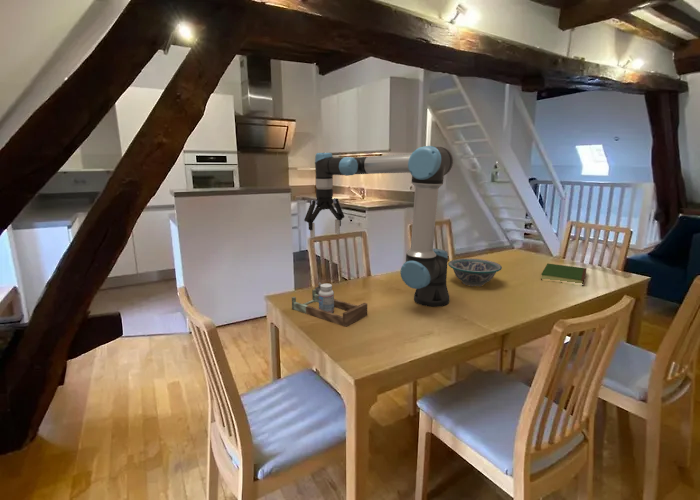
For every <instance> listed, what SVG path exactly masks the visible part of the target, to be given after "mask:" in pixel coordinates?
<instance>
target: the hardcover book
mask: <svg viewBox="0 0 700 500" xmlns="http://www.w3.org/2000/svg"><path fill="white" fill-rule="evenodd" d="M540 276H541V277H540V279H541V278H542V279H550V280H560V281H567V282H575V283H582V284H585V280H586V276H587V267H586V268H585V267H578V266H569V265H562V264H556V263H547V264H546V265H545V267H544V269H543V270H542V272H541V274H540ZM584 279H585V280H584Z"/></svg>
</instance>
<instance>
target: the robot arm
mask: <svg viewBox="0 0 700 500" xmlns="http://www.w3.org/2000/svg"><path fill="white" fill-rule="evenodd" d="M314 155H315V158H314V167H315V187H316V189H315V197H316V199H315V200H314V199H310V200H309V207H308V209H307V212H306V214H305V218H304V222H307V223H308V224H307V225H308V230H309V232H310V233H309V236H310V238H312V239H314V238H316V227H315V222H314V221H315V220H316V219H317V217H318V215H319V213H320V212H322V211H325V210H329V211H330V212H331V213H332V215H333V216H334V217H335V219H334V233H335V234H336V235H340V233H341V232H340V231H341V228H340V227H341V226H342V220H343V219H344V218H345V215H344V211H343V210H342V207H341V205H340V200H339V198H336V197H335V198H333V197H334V189H333V187H334V185H333V184H334V181H333V180H334V179H333V176H346V177H347V176H349V177H350V176H354V175H369V174H372V175H373V174H405V173H407V174H411V184H412V185H413V186H414V197H413V198H414V201H413V211H412V212H413V214H412V225H411V239H410V247H409V249H408V250H406V255H405V262H404V263H403V264H402V266H401V267H400V277H401V279H402V281H403V283H404V284H405V285H406V286H408V287H409V288H411V289H415V292H414V295H413V301H414V302H415V303H416V304H418V305H420V306H424V307H429V308H431V307H432V308H438V307H439V308H440V307H446V306H447V305H449V303H450V293H449V290H448V287H447V275H448V263H449V262H448V260H449V258H448V252H447V250H444V249H439V248H434V242H435V241H434V238H435V229H436V227H435V226H436V218H437V210H438V209H437V207H438V196H439V188H441V186H443V185H444V177H445V176H446V175H447V174H449V173H450V171H451V170H452V169H453V165H454V158H453V155H452V153H451V151H450V150H449V149H448V148H446V147H443V146H435V145H434V146H433V145H424V146H420V147H417V148H416V149H415V150H414V151H413V152H412V153H409V154H407V153H406V154H389V155H373V156H355V157H353V156H343V157H342V156H338V157H334V156H333V153H332V152H317V153H315V154H314ZM333 205H334V206H333Z"/></svg>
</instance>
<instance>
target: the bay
mask: <svg viewBox="0 0 700 500" xmlns="http://www.w3.org/2000/svg"><path fill="white" fill-rule="evenodd" d="M321 284H322V282H321V281H319V282H318V283H317V285H318V286H316V287H315V288H314V289H312V293H311V294H312V295H311V297H312V300H309V301H307V302H304V303H301V302H299V301H298V302H297V297H296V296H293V297H291V310H293V311H297V312H299V313H302V314H306V315H309V316H312V317H315V318H318V319H322V320H324V321H328V322H331V323H334V324H337V325H340V326H343V327H348V326H350V325H352V324H354V323H356V322H357V321H360V320H362V319H363V318H365V317H367V316H368V303H366V302H363V303H360V304H358V305H356V304H354V303H350V302H346V301H343V300H338V299H335V298H334V309H335V308H336V309H338V310H342V311H344V312H342V315H340V314H336V313H334V312H332V313H330V312H327V311H323V310H320V309H319V308H317V307H314V306H310V304H312V303H318V304H319V291H320V290H321V288H320V285H321Z"/></svg>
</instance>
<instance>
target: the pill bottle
mask: <svg viewBox="0 0 700 500" xmlns="http://www.w3.org/2000/svg"><path fill="white" fill-rule="evenodd" d="M320 288H321V290H320V291H319V303H318V309H320V310H323V311H327V312H330V313H334V311H335V307H334V299H335V294H334V293H335V292H334V290H333V285H332V284H331V283H321V285H320Z"/></svg>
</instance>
